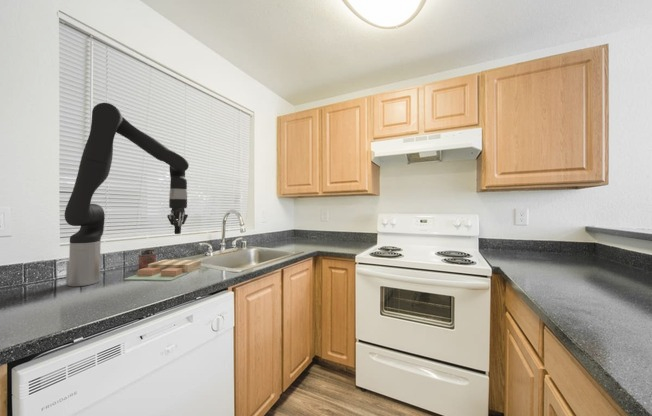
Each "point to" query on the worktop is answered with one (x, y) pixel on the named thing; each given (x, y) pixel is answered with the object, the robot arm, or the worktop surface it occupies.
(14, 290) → the worktop surface
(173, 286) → the worktop surface
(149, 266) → the wooden tray
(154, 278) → the mat
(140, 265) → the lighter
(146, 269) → the tile
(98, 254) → the robot arm
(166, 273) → the tile
